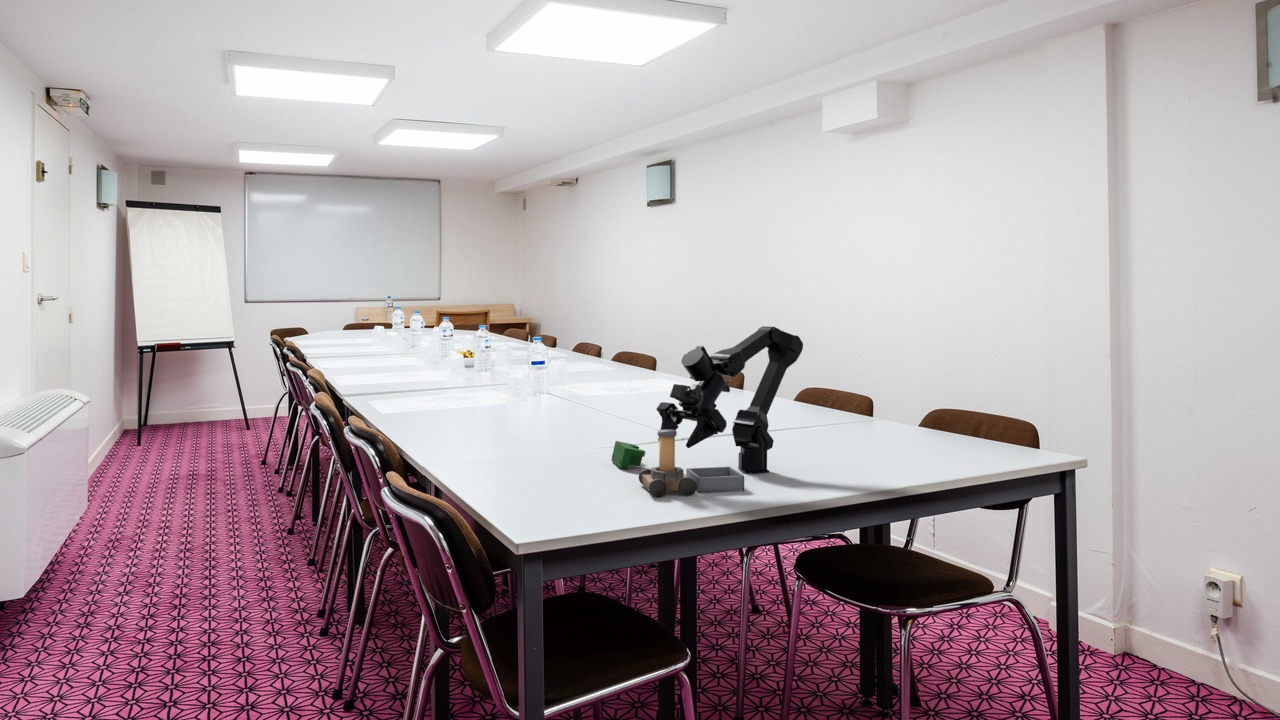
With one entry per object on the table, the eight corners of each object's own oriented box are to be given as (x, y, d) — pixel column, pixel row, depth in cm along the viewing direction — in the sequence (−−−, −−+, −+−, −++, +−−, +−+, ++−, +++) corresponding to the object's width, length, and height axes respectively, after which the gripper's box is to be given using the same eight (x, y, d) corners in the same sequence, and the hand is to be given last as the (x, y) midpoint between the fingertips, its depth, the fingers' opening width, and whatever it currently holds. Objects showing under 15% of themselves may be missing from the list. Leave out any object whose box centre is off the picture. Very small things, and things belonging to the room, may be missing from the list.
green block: (636, 484, 218) (647, 456, 215) (615, 479, 217) (626, 451, 213) (631, 458, 229) (641, 431, 225) (610, 454, 227) (620, 427, 224)
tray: (729, 480, 202) (729, 466, 202) (744, 490, 192) (744, 476, 191) (686, 482, 200) (686, 468, 200) (698, 493, 189) (698, 478, 189)
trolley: (683, 483, 199) (683, 463, 199) (696, 495, 187) (696, 473, 187) (638, 485, 197) (638, 464, 197) (649, 497, 185) (649, 475, 184)
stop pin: (673, 475, 194) (674, 429, 194) (678, 479, 190) (678, 432, 189) (655, 476, 193) (655, 429, 193) (659, 480, 189) (659, 432, 188)
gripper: (662, 369, 202) (628, 418, 195) (719, 374, 188) (684, 427, 181) (684, 398, 208) (652, 447, 201) (741, 406, 194) (708, 458, 187)
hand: (673, 444), depth 193 cm, fingers open, 9 cm apart
